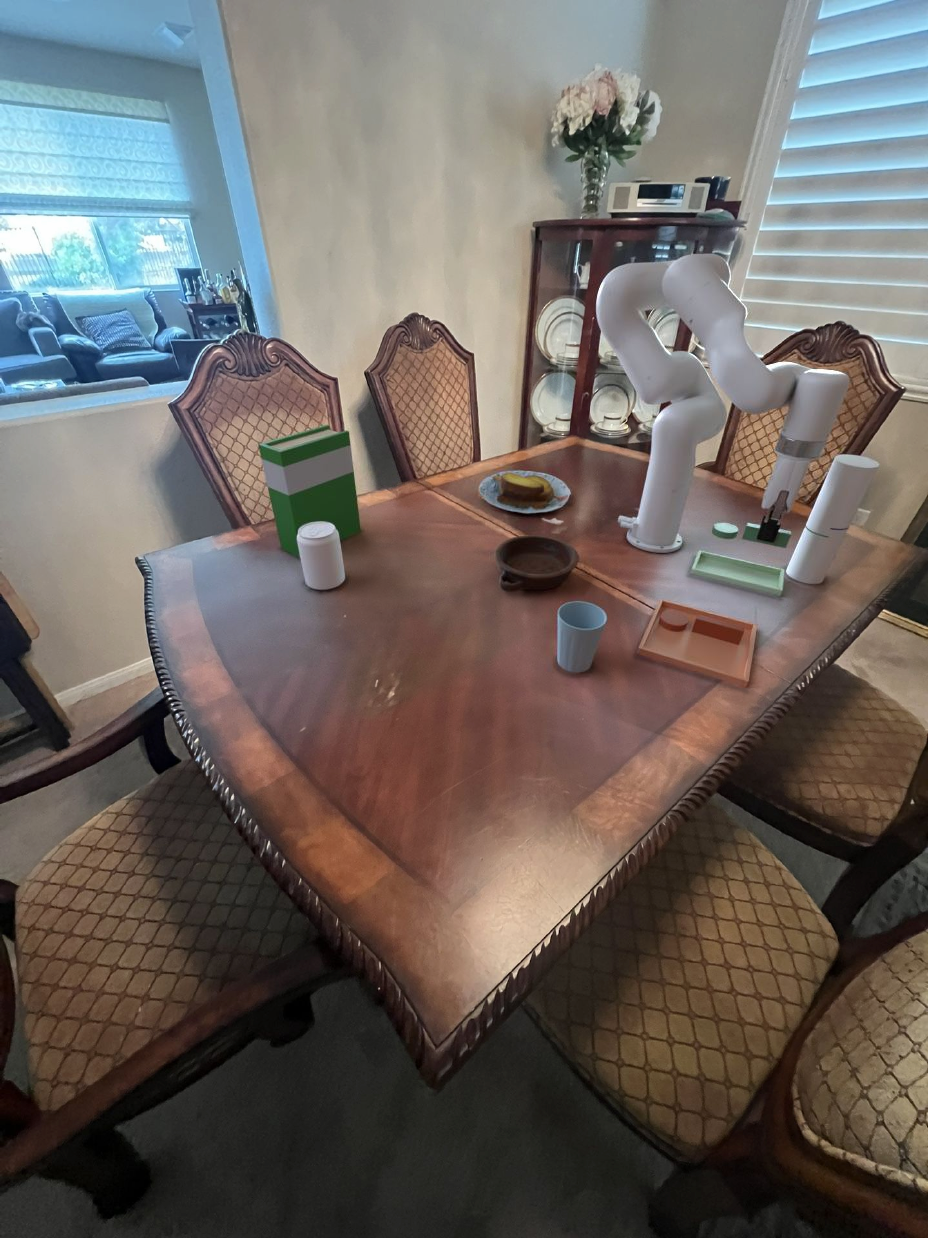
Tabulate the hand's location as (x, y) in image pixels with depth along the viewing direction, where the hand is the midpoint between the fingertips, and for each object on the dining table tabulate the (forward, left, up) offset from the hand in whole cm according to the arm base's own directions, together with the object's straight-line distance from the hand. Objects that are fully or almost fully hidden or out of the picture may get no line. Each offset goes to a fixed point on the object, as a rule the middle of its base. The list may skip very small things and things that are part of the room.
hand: (765, 537), depth 106 cm
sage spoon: (-2, 0, -1) cm, 2 cm away
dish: (-41, -20, -10) cm, 46 cm away
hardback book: (-91, -30, -10) cm, 96 cm away
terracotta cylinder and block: (-6, -25, -9) cm, 27 cm away
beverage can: (-78, -44, -10) cm, 90 cm away
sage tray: (-3, 0, -10) cm, 10 cm away
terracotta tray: (-6, -28, -10) cm, 30 cm away
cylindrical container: (+10, +8, -10) cm, 17 cm away
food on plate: (-59, +16, -10) cm, 62 cm away
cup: (-24, -44, -10) cm, 51 cm away
